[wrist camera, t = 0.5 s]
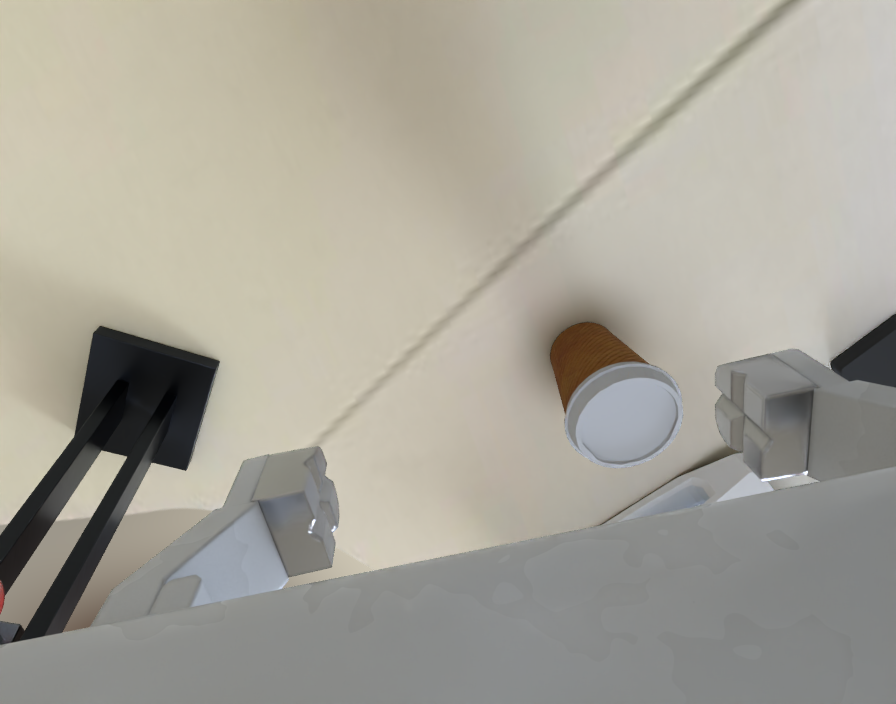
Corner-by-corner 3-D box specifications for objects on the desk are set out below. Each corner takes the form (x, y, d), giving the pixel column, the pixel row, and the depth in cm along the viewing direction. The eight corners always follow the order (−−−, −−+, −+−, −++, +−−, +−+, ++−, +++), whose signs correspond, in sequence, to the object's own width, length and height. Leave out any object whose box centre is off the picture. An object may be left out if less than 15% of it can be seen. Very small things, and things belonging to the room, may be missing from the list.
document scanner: (525, 571, 70) (537, 617, 64) (733, 440, 63) (766, 478, 58) (614, 648, 79) (632, 694, 73) (804, 540, 72) (839, 581, 67)
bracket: (100, 325, 50) (-147, 584, 26) (219, 361, 53) (93, 624, 29) (79, 434, 55) (-145, 735, 31) (190, 461, 57) (61, 757, 34)
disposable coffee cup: (527, 318, 54) (564, 387, 43) (629, 296, 54) (690, 359, 43) (539, 402, 58) (574, 483, 48) (632, 382, 58) (688, 458, 48)
